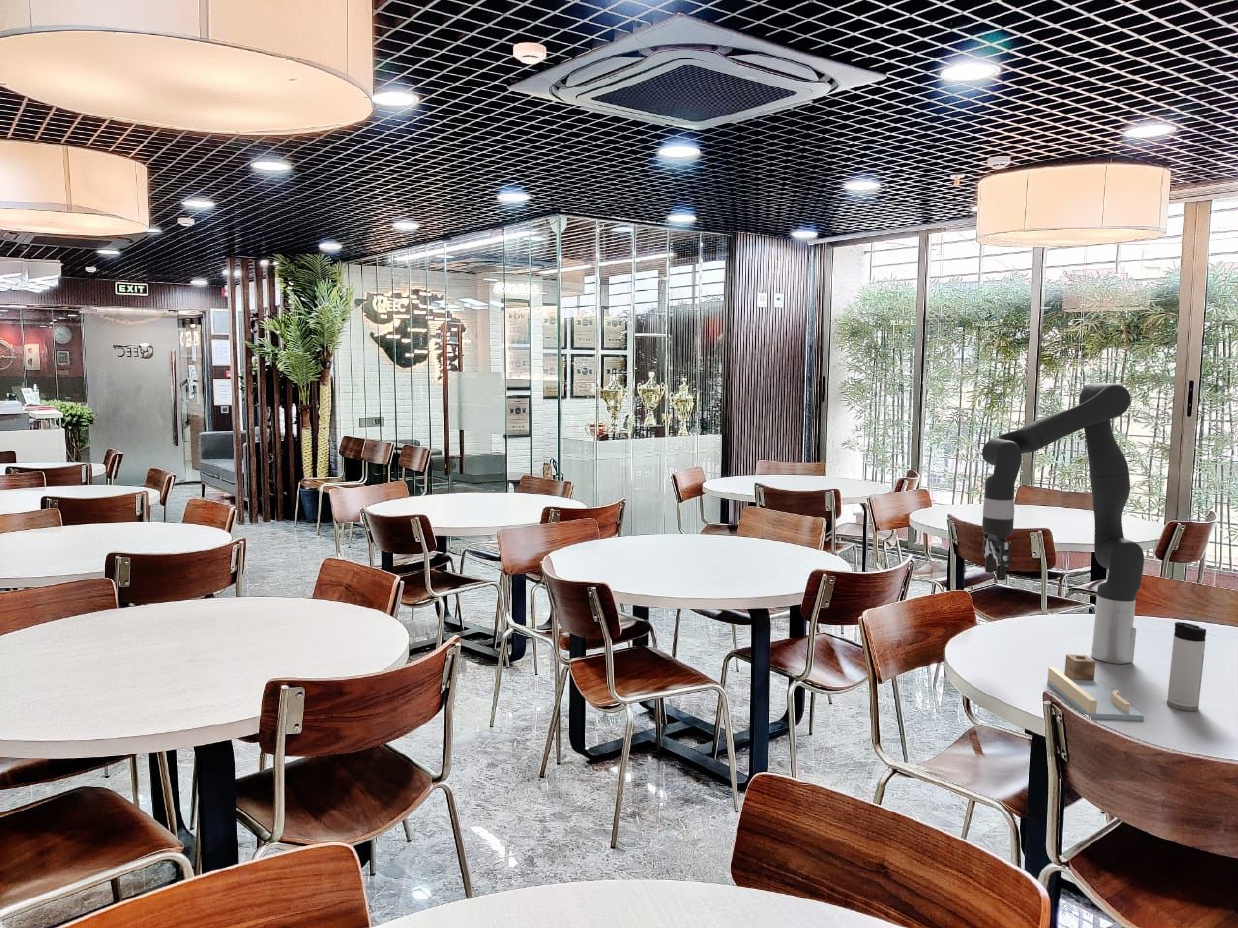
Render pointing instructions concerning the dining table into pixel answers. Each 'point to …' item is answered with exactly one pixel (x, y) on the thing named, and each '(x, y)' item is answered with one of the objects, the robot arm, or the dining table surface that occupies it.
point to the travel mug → (1186, 667)
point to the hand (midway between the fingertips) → (994, 575)
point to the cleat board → (1092, 698)
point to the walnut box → (1079, 667)
